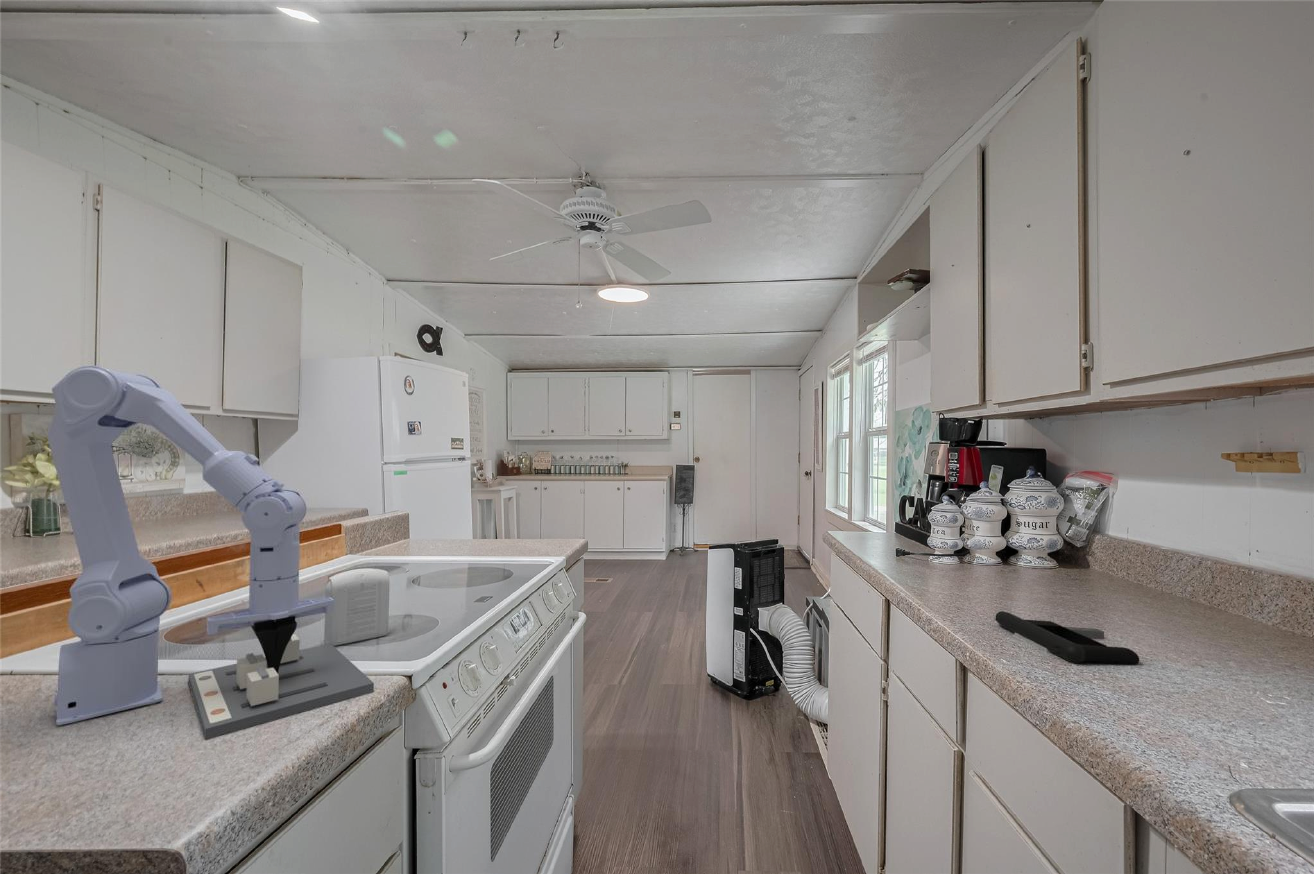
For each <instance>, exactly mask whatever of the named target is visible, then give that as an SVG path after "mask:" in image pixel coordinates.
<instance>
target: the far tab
mask: <svg viewBox="0 0 1314 874" xmlns="http://www.w3.org/2000/svg"><path fill="white" fill-rule="evenodd" d="M300 640H301V639H300V638H299V637H298V636H297V635H296V634H295V633H293V635H292V637H291V639H290V640H289V642H288V644H287V646H286V649H285V651H284V654H283V656H282V659H281V663H284V662H289V661H293V660H298V659H299V650H300V645H301V644H300V642H301V641H300Z"/></svg>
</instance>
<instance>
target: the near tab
mask: <svg viewBox="0 0 1314 874" xmlns="http://www.w3.org/2000/svg"><path fill="white" fill-rule="evenodd" d="M278 688H279V675H278V674H277V672H276V671H275V669H274V668H269V669H265V668H264V667H259V668H257V671H255V672H251V673H247V693H246V697H247V699H248V701H249V703H250V705H251V706H254V705H258V704H262V703H265V702H269V701H273V700H277V699H278Z"/></svg>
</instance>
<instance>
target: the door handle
mask: <svg viewBox="0 0 1314 874" xmlns="http://www.w3.org/2000/svg"><path fill="white" fill-rule="evenodd" d="M993 620H994V621H996V622H997V624H998V625H1000V626H1001V627H1002V628H1004V629H1006V630H1008V631H1010V632H1012V633H1013V634H1014V636H1015V637H1017V638H1018V639H1021V640H1023V641H1025V642H1027V643H1028V644H1030V645H1032V646H1034V647H1036V648H1038V649H1040V650H1041V651H1043V652H1045V653H1052V654H1054V655H1056V656H1058V657H1060V658H1062V659H1064V660H1065V661H1068V662H1069V663H1073V664H1082V663H1083V662H1085V663H1097V664H1113V665H1137V664H1139V662H1140V656H1139V655H1138V654H1137V653H1136V651H1134V650H1132V649H1130V648H1128V647H1120V646H1119V647H1118V646H1108V645H1106V644H1104V643H1102V642H1099V641H1096V640H1104V639H1105V631H1103V630H1101V629H1099V628H1092V627H1091V628H1090V627H1089V628H1087V627H1078V626H1077V627H1075V626H1063V625H1061V624H1058V623H1055V622H1054V621H1052V620H1051V621H1050V620H1039V619H1038V620H1037V619H1023V618H1022V617H1019V616H1016V615H1015V614H1012V612H1008V611H998V612H997V613H996V614H995V619H993Z"/></svg>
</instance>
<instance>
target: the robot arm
mask: <svg viewBox="0 0 1314 874" xmlns="http://www.w3.org/2000/svg"><path fill="white" fill-rule="evenodd" d="M51 391H52V392H51V393H52V395H53V398H54V399H53V400H54V402H55V407H54V408H55V409H54V411H53V416H52V419H51V423H50V427H49V429H48V432H47V440H48V444H49V449H50V453H51V457H52V459H53V460H52V461H53V463H54V467H55V471H56V474H57V477H58V482H59V484H60V485H59V486H60V489H61V494H62V496H63V500H64V504H65V507H66V511H67V515H68V519H69V523H70V526H71V529H72V532H73V537H74V541H75V544H76V548H77V552H78V555H79V559H80V563H81V567H82V571H81V573H80V574H79V576H78V577H77V578H76V580H74V582H73V584H71V587H70V588H69V594H70V598H71V605H70V608H69V611H68V614H67V624H68V627H69V629H70V630H71V632H72V633H73V635H75V636H76V637H77V638H78V639H80V640H78V641H75V642H71V643H65V644H62V645H60V650H59V655H58V658H59V659H58V669H57V671H58V672H57V673H58V674H57V690H55V692H54V697H53V698H54V701H53V704H54V707H56V721H55V725H56V726H63V725H66V724H67V725H68V724H70V723H75V722H80V721H84V720H88V719H91V718H95V717H101V716H105V715H109V714H112V713H113V714H114V713H117V712H121V711H126V710H130V709H134V708H139V707H142V706H148V705H151V704H156V703H159V702H162V701H163V693H162V687H161V686H162V685H161V681H160V680H158V677H159V675H158V673H159V672H158V670H159V642H160V641H159V640H160V622H161V620H160V619H161V616H163V614H164V613H166V611H167V610H168V609H169V607H170V605H171V602H172V592H171V589H170V587H169V585H168V584H167V583H166V582H165V581H164V580H163V579H162V577H160V576H159V575H160V574H158V570H157V567H156V566H155V564H154V563H152V562H151V561H149V560H147V559H146V558H145V557H143V556H142V555H141V553H140V551H139V547H138V542H137V539H136V534H135V531H134V527H133V523H132V520H131V516H130V513H129V508H128V505H127V502H126V498H125V494H124V490H123V486H122V483H121V479H120V474H119V472H118V468H117V464H116V461H115V457H114V452H113V449H112V445H113V443H115V441H117V440H118V438H119V437H120V436H121V435H123V433H124V432H126V431H127V430H129V429H131V428H133V427H136V425H138V424H141V425H146V426H151V427H152V428H154V429H156V430H157V431H158V432H159V433H161V434H162V435H164V437H165V438H167V439H168V440H169V441H171V442H172V443H173V444H175V445H176V446H177V447H178V448H179V449H180V450H182V451H184V452H185V453H186V454H188V455H189V456H190V457H191V458H193V459H194V460H195V461H196V462H197V463H199V465H201V466H202V480H203V481H204V482H206V483H207V484H208V485H209V487H211V488H212V489H214V490H215V491H216V492H217V493H218V494H219V495H220V496H222V497H223V498H224V499H225V500H226V501H227V502H228V503H229V504H231V505H232V506H233V507H234V508H235V509H236V510H238V511H239V512H241V513H242V514H241V521H242V523H243V525H244V527H245V528H246V529H247V530H248V532H249V533H250V547H249V548H250V549H249V550H250V552H249V555H250V556H249V587H248V589H249V593H248V595H249V596H248V608H244V609H240V610H237V611H236V610H235V611H231V612H228V613H223V614H219V615H215V616H208V617H206V634H207V635H208V636H212V635H218V634H219V633H221V632H225V631H231V630H237V629H243V628H248V627H251V630H252V631H253V633H254V634H255V636H256V639H257V640H258V642H259V644H260V647H261V648H262V651H263V654H264V658H266V661H267V666H268V669H269V668H274V669H275V671H276V672H277V674H278V671H279V666H280V663H281V659H282V656H283V654H284V651H285V649H286V646H287V644H288V642H289V640H290V639H291V637H292V635H293V634H295V631H296V629H297V626H298V622H297V621H296V619H298V618H303V617H309V616H314V615H319V614H325V613H326V614H328V613H333V612H334V599H332V598H331V597H328V598H326V597H324V598H313V599H304V600H300V599H299V598H300V597H299V596H300V595H299V594H300V593H299V592H300V589H299V586H300V545H301V543H300V523H301V522H302V521H303V520H304V518H305V517H306V514H307V504H306V502H305V500H304V498H303V497H302V496H301V494H300V493H299V491H296V490H294V489H290V488H283V487H285V484H284V482H283V481H281V480H280V479H277V480H276V479H274V478H273V477H272V476H271V475H270V474H269V473H267V472H266V471H265V469H263V468H262V467H261V466H260V465H258V464H257V463H258V462H259V461H260V459H259V458H258V457H256V456H255V454H249V453H248V454H246V453H245V452H244V451H242V450H228V449H227V448H225V446H224V445H223V444H221V443H220V442H219V441H218V440H217V438H215V437H214V436H213V435H212V433H210V432H209V431H208V430H207V429H206V428H205V427H204V426H203V425H202V424H201V423H200V422H199V421H198V420H197V419H196V418H195V417H194V416H193V415H192V414H191V413H190V412H189V411H188V410H187V409H186V408H185V407H184V406H183V405H182V404H181V403H180V402H179V401H178V399H177V397H175V396H174V394H173V393H172V392H171V391H169V390H168V389H166V388H162V386H161V385H160V383H158V381H156V380H155V379H153V378H151V377H150V376H146V375H142V374H133V373H127V372H123V371H117V370H112V369H108V368H106V367H103V366H99V365H84V366H83V365H82V366H79V367H77V368H74V369H73V370H71V371H70V372H68V373H67V374H66V375H65V376H63V378H61V380H60V381H58V382H57V383H56V384H55V385H54V386H53V387H52V388H51Z"/></svg>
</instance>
